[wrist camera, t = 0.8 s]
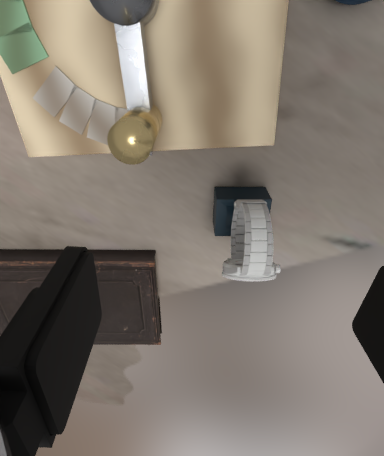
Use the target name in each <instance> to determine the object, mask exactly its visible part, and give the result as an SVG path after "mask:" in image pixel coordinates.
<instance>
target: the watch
mask: <svg viewBox="0 0 384 456" xmlns="http://www.w3.org/2000/svg"><path fill="white" fill-rule="evenodd" d="M271 203H272V199H271V197H270V195H269V193H268V191H267V190H266V188H265V187H215V188H214V210H213V225H214V233H215V236H231V237H235V238H231V258H228V259H227V260H226V261H224V263H223V272H222V276H223V277H225V278H228V279H232V280H238V281H252V282H256V281H269V280H273V279H275V278H276V274H275V273H280V265H279V264H274V263H273V262H272V261H273V233H267V232H272V224H271V218H270V209H271Z"/></svg>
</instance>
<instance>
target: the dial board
mask: <svg viewBox="0 0 384 456" xmlns="http://www.w3.org/2000/svg"><path fill="white" fill-rule="evenodd" d="M288 1H289V0H159V5H158V9H157V11H156V14H155V15H154V17H153V19H152V20H151V21H150V22H149V23H148V24H147V25H145V26H144V31H145V40H146V49H147V58H148V67H149V76H150V85H151V94H152V103H153V104H154V105H155V106H156V107H157V108H158V109H159V111H160V112H161V115H162V126H161V128H160V131H159V133H158V136H157V138H156V141H155V143H154V146H153V148H152V151H165V150H186V149H206V148H227V147H247V146H268V145H274V141H275V131H276V121H277V111H278V101H279V91H280V81H281V71H282V61H283V51H284V41H285V31H286V21H287V11H288ZM0 76H1V79H2V82H3V84H4V87H5V90H6V93H7V96H8V99H9V102H10V104H11V107H12V110H13V113H14V116H15V119H16V121H17V124H18V127H19V130H20V133H21V136H22V139H23V141H24V144H25V147H26V150H27V153H28V156H29V157H42V156H63V155H83V154H104V153H111V151H110V149H109V147H108V142H107V137H108V132H109V130H110V128H111V127H112V126H113V125H114V124H115V123H116V122H117V121H118V120H119V119H120V118H121V117H122V116H124V115H125V114H126V113H127V112H128V111H127V104H126V98H125V91H124V85H123V78H122V72H121V65H120V59H119V52H118V46H117V39H116V33H115V27H114V23H112V22H110V21H108V20H106V19H105V18H103V17H102V16H101V15H100V14H99V13H98V12H97V11H96V10H95V8H94V7H93V6H92V4H91V2H90V0H0Z"/></svg>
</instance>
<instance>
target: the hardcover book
mask: <svg viewBox="0 0 384 456" xmlns="http://www.w3.org/2000/svg"><path fill="white" fill-rule="evenodd" d="M87 251H88V252H92V253H93V256H94V263H95V269H96V276H97V283H98V290H99V297H100V303H101V310H102V317H101V322H100V325H99V328H98V331H97V334H96V337H95V340H94V343H93V344H148V345H151V344H152V345H154V344H155V345H156V344H157V345H160V344H161V340H160V334H161V333H162V326H161V312H160V297H157V283H156V270H155V252H156V251H155V250H87ZM62 252H63V250H0V335H1V334H2V333H3V331H4V330H5V328H6V327H7V325H8V324H9V322H10V321H11V319H12V318H13V317H14V315H15V314H16V312H17V311H18V309H19V308H20V306H21V305H22V303H23V302H24V300H25V299H26V297H27V296H28V294H29V293H30V292H31V291H32V289H34V288H36V287H40V286H41V284H42V283H43V281H44V279H45V278H46V276H47V275H48V273H49V272H50V270H51V269H52V267H53V266H54V264H55V262H56V261H57V259H58V258H59V256H60V255H61V253H62Z"/></svg>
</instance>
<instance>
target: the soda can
mask: <svg viewBox="0 0 384 456" xmlns="http://www.w3.org/2000/svg"><path fill="white" fill-rule="evenodd" d="M336 1H337V2H340V3H343V4H348V5H355V4H361V3H365V2H368V1H372V0H336Z"/></svg>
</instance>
